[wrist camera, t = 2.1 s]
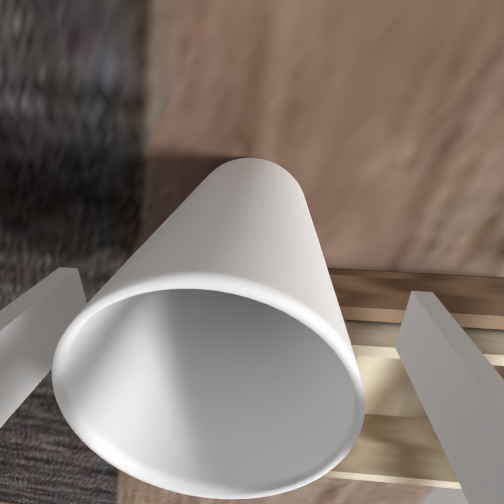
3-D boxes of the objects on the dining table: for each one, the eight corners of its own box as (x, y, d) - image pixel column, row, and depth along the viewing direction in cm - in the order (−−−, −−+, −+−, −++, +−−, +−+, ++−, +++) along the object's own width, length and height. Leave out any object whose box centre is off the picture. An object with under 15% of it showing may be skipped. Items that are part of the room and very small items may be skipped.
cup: (235, 281, 25) (181, 522, 11) (172, 197, 22) (-17, 368, 8) (327, 232, 23) (417, 457, 8) (268, 132, 20) (251, 205, 5)
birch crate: (310, 407, 29) (318, 476, 24) (329, 289, 23) (345, 344, 18) (454, 419, 29) (496, 492, 23) (510, 300, 23) (584, 360, 17)
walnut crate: (294, 406, 31) (298, 458, 26) (312, 267, 24) (321, 305, 19) (458, 419, 30) (490, 474, 26) (526, 279, 23) (587, 321, 19)
